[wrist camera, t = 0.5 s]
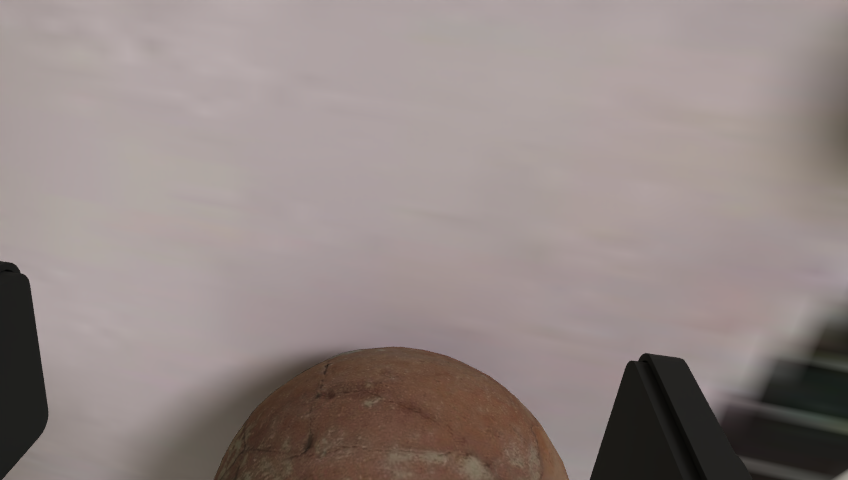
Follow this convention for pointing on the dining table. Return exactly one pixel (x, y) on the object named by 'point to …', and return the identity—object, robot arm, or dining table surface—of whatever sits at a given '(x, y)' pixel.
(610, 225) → the dining table surface
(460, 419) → the jug
